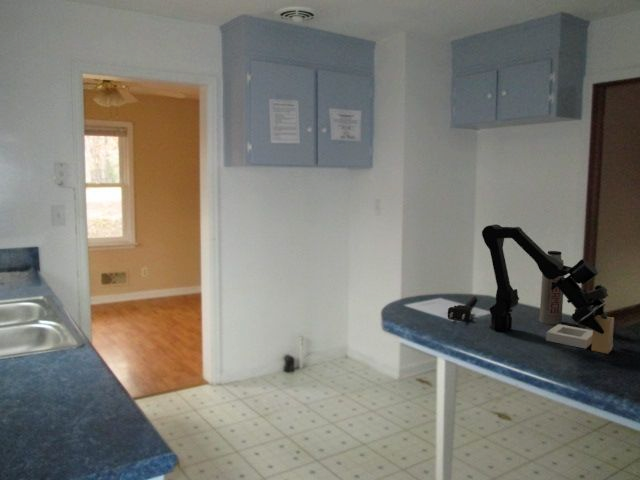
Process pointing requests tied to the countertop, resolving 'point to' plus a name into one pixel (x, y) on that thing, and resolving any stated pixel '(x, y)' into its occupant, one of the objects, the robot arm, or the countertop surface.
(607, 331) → the plug
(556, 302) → the thermos bottle
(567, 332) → the socket block
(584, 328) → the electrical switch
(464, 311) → the electrical plug
